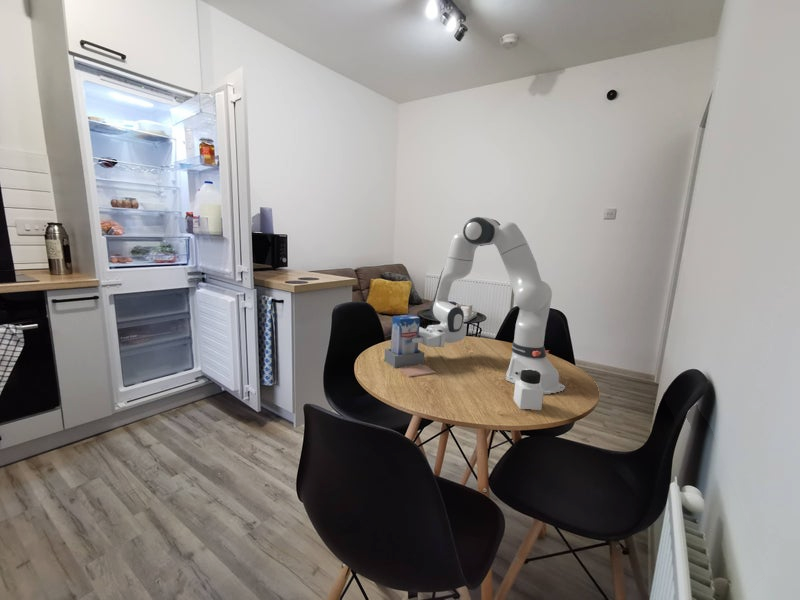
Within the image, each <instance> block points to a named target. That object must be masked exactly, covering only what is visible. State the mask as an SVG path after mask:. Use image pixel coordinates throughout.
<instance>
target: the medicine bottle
mask: <svg viewBox="0 0 800 600" xmlns="http://www.w3.org/2000/svg"><path fill="white" fill-rule="evenodd" d="M540 377H541V374H540V373H539V372H538V371H536V370H533V369H523V370H522V371H521V378H520V381H518V380H516V381H515V384H514V392H513V397H512V399H513V401H514V402H515V404H516V406H517V407H518V408H519V409H520V410H525V409H531V410H530V411H542V410H543V409H542V408H543V400H544V395H545V394H544V390H543V389H542V388H541V387H540Z"/></svg>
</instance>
